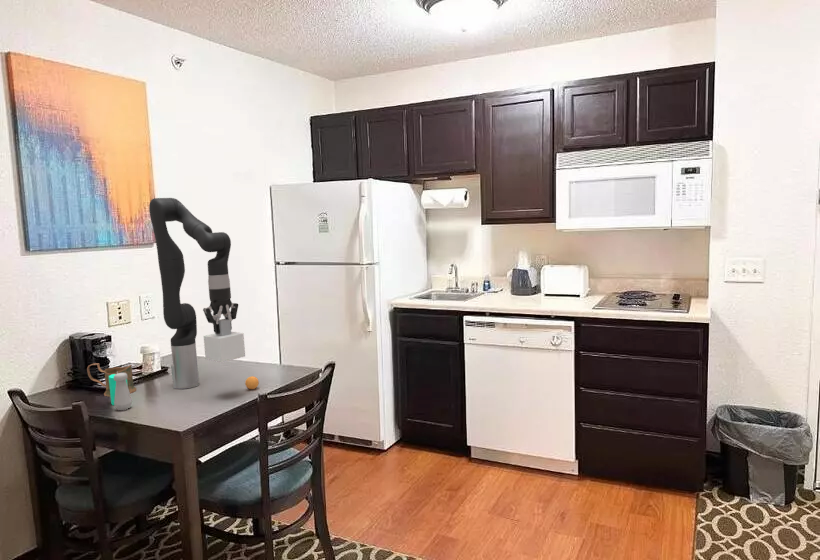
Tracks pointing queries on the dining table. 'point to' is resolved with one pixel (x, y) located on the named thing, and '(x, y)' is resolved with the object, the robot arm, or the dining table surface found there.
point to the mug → (114, 371)
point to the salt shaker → (122, 392)
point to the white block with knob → (224, 344)
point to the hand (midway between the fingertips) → (223, 332)
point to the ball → (251, 382)
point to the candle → (112, 387)
